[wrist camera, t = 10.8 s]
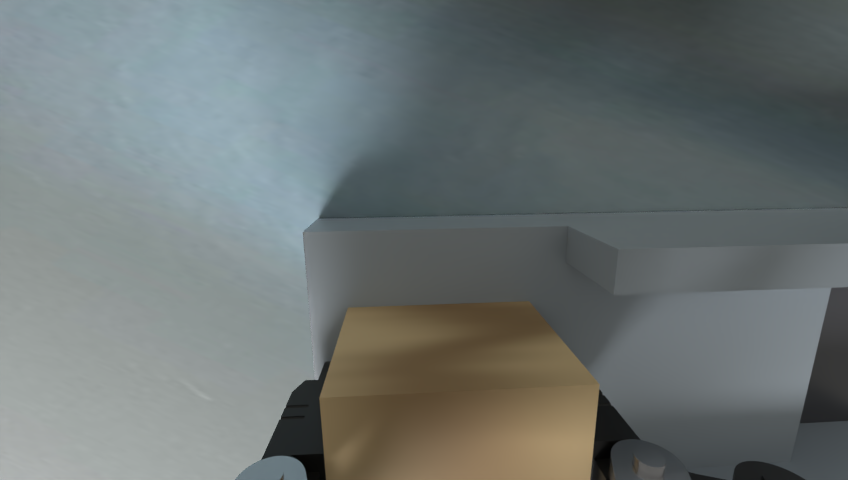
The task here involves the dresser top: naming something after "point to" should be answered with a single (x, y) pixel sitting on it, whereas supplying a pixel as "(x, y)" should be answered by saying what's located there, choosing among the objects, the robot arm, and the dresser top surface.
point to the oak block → (456, 396)
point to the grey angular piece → (639, 314)
